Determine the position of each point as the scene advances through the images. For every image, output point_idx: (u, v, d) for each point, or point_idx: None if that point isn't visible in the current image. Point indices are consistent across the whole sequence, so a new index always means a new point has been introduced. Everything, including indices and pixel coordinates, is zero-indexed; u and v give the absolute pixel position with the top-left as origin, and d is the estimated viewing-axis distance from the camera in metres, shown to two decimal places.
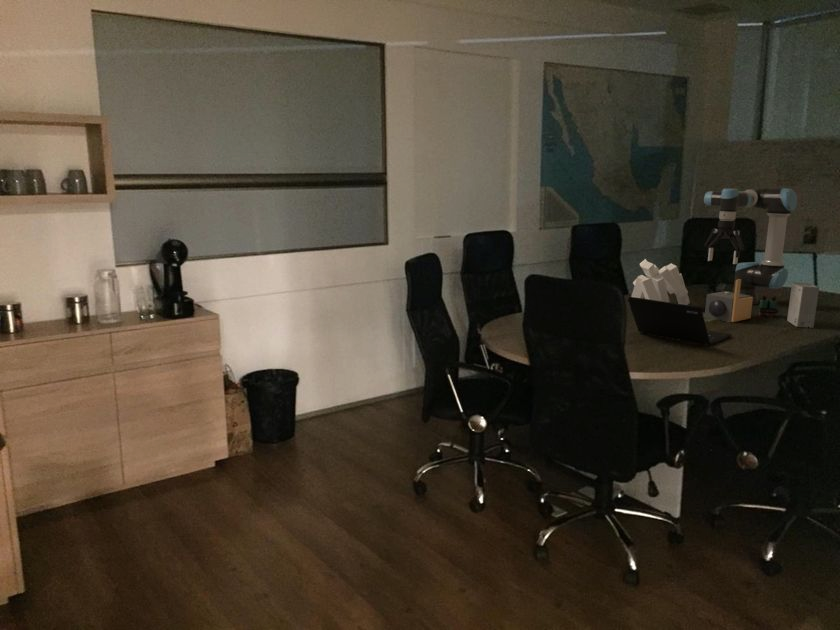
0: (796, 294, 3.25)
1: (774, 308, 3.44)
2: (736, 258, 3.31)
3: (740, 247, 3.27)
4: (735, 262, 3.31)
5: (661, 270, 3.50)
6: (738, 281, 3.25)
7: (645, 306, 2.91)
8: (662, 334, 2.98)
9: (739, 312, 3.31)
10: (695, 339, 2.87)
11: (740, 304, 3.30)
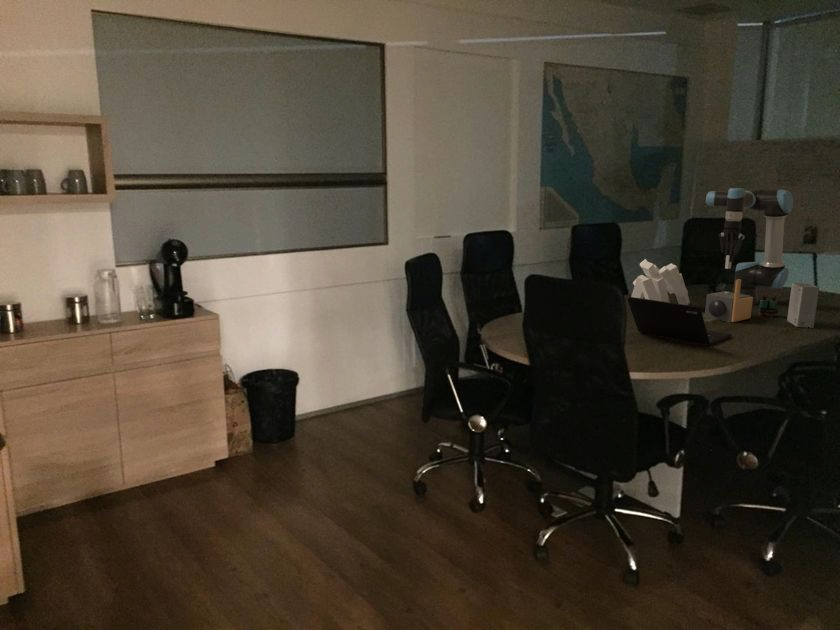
0: (796, 294, 3.25)
1: (774, 308, 3.44)
2: (729, 263, 3.28)
3: (734, 252, 3.24)
4: (728, 267, 3.28)
5: (661, 270, 3.50)
6: (738, 281, 3.25)
7: (644, 306, 2.91)
8: (662, 334, 2.98)
9: (739, 312, 3.31)
10: (695, 339, 2.87)
11: (740, 304, 3.30)
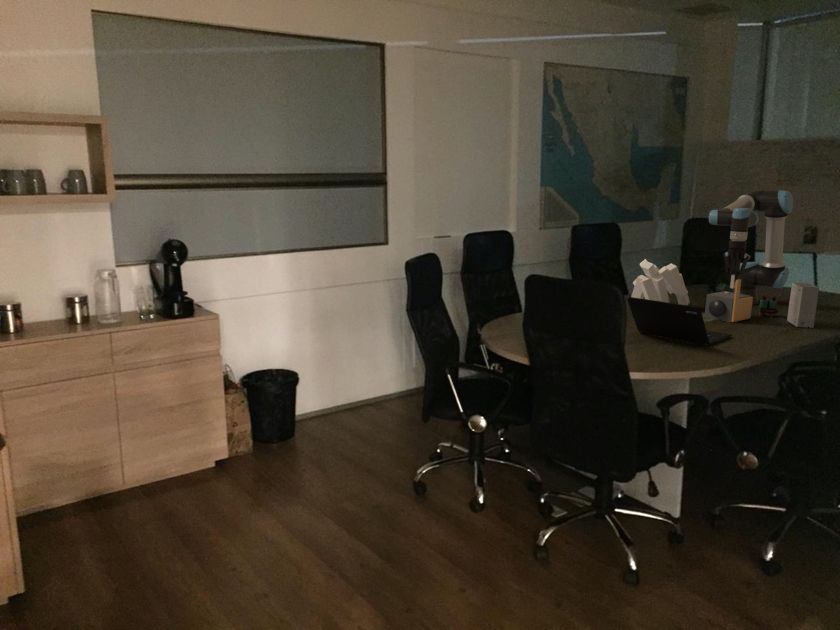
0: (796, 294, 3.25)
1: (774, 308, 3.44)
2: (734, 282, 3.28)
3: (740, 271, 3.24)
4: (733, 286, 3.28)
5: (661, 270, 3.50)
6: (738, 281, 3.25)
7: (644, 306, 2.91)
8: (662, 334, 2.98)
9: (739, 312, 3.31)
10: (695, 339, 2.87)
11: (740, 304, 3.30)
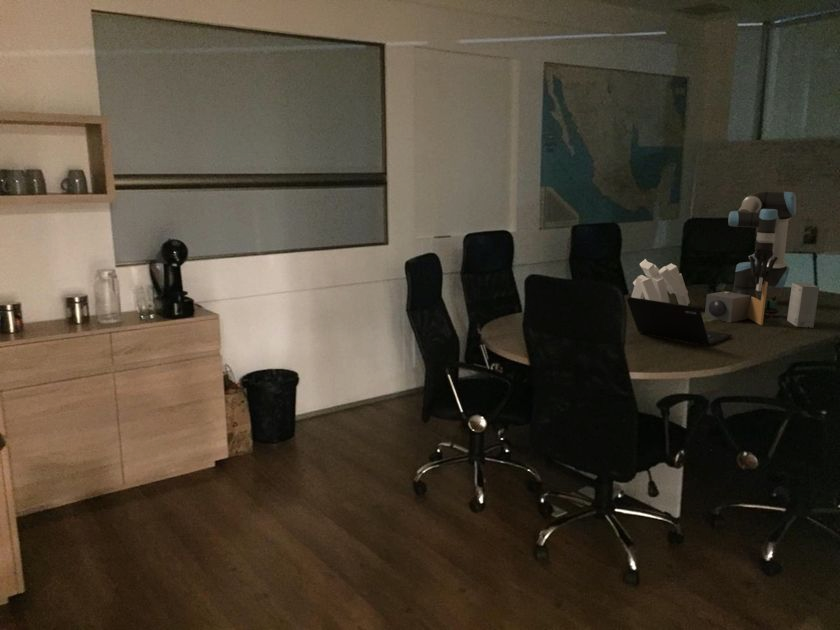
0: (796, 294, 3.25)
1: (774, 308, 3.44)
2: None
3: (768, 273, 3.18)
4: None
5: (661, 270, 3.50)
6: None
7: (644, 306, 2.91)
8: (661, 334, 2.97)
9: None
10: (694, 339, 2.86)
11: None
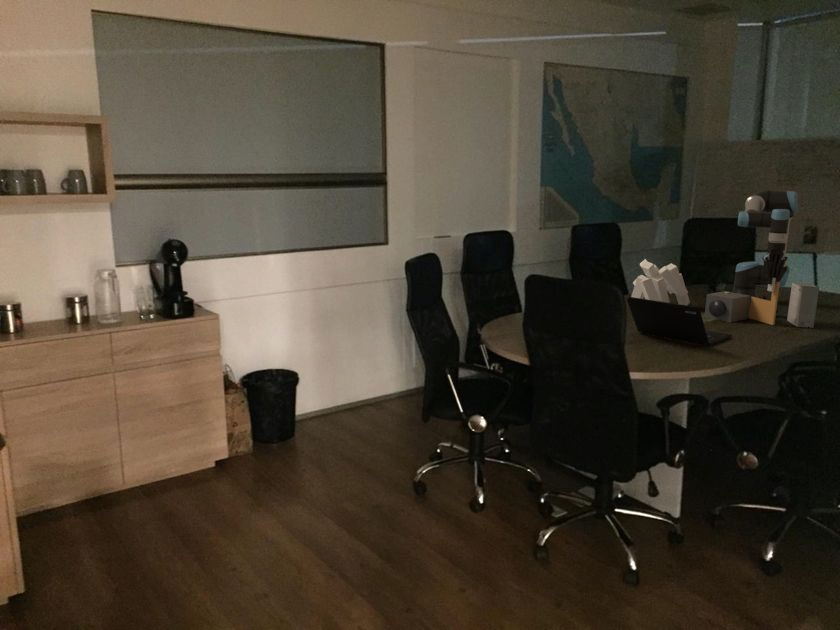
0: (796, 294, 3.25)
1: None
2: None
3: (780, 273, 3.19)
4: None
5: (661, 270, 3.50)
6: None
7: (644, 306, 2.91)
8: (661, 334, 2.97)
9: None
10: (694, 339, 2.86)
11: None
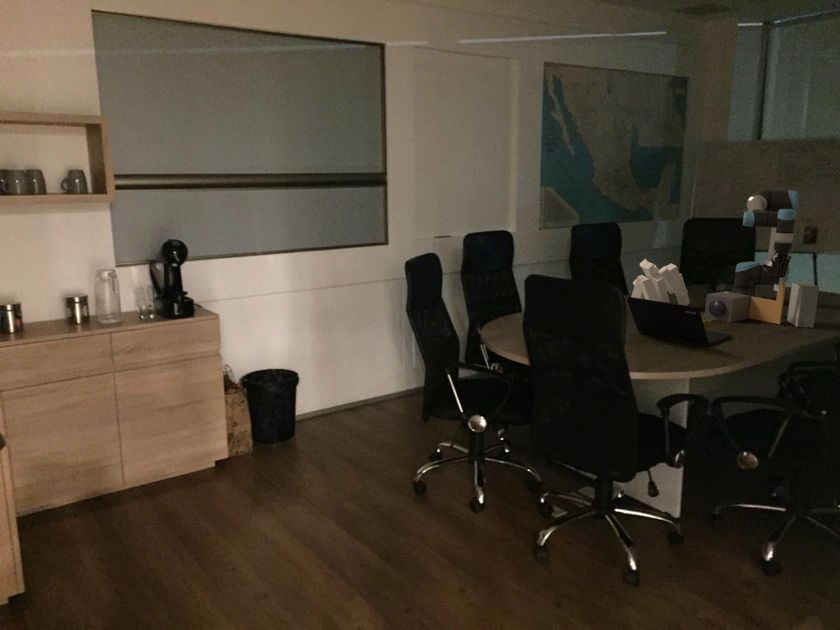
0: (796, 294, 3.25)
1: None
2: None
3: (785, 273, 3.21)
4: None
5: (661, 270, 3.50)
6: None
7: (643, 306, 2.91)
8: (661, 334, 2.97)
9: None
10: (694, 339, 2.86)
11: None
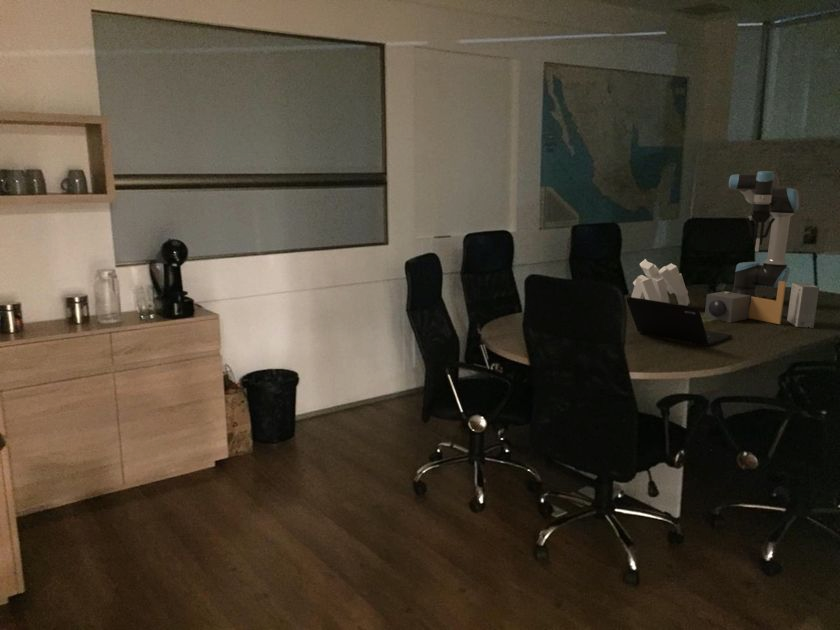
0: (796, 294, 3.25)
1: None
2: (758, 245, 3.31)
3: (766, 234, 3.27)
4: (758, 250, 3.31)
5: (661, 270, 3.50)
6: None
7: (643, 306, 2.91)
8: (661, 334, 2.97)
9: None
10: (694, 339, 2.86)
11: None
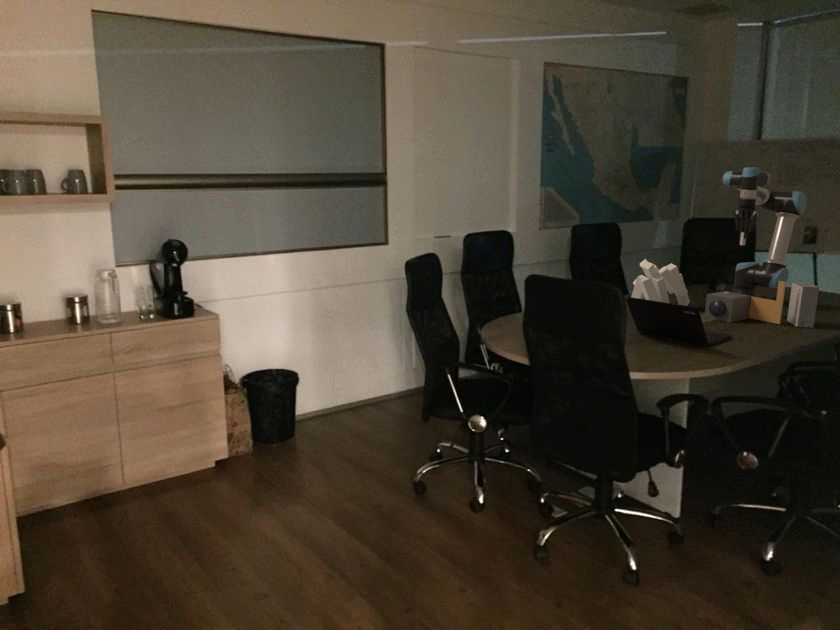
0: (796, 294, 3.25)
1: None
2: (744, 239, 3.41)
3: (749, 229, 3.37)
4: (743, 243, 3.41)
5: (661, 270, 3.50)
6: None
7: (643, 306, 2.91)
8: (661, 334, 2.97)
9: None
10: (693, 340, 2.86)
11: None
